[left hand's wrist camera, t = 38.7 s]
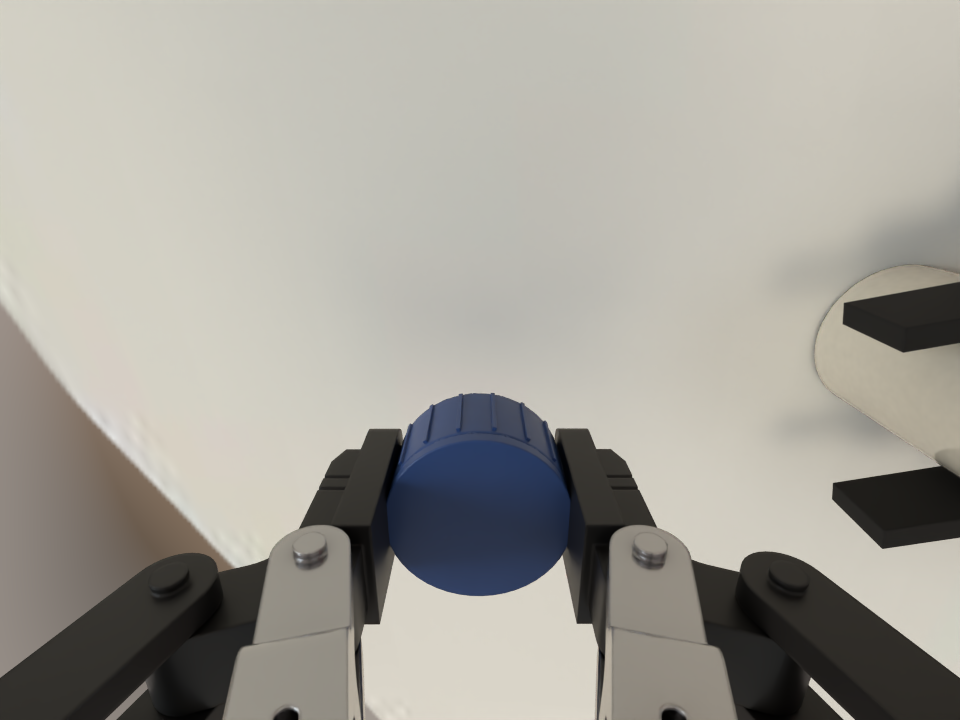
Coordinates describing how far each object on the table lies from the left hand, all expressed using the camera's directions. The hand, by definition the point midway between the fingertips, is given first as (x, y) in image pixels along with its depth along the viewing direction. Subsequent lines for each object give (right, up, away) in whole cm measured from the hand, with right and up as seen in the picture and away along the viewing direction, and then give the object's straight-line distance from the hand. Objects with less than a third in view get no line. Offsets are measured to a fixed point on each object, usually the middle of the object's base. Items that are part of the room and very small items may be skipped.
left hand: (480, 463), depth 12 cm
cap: (0, -1, -2) cm, 2 cm away
